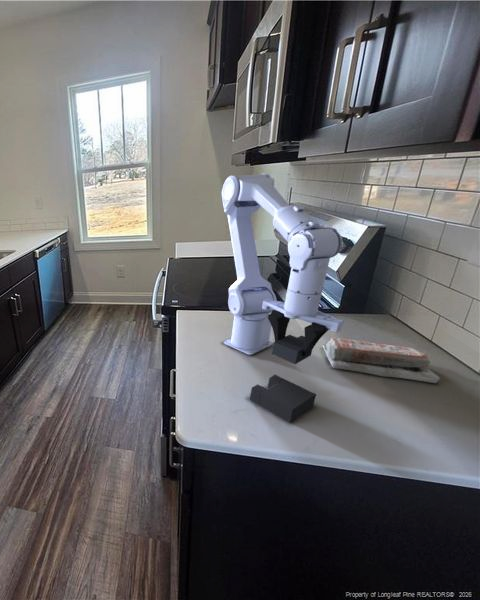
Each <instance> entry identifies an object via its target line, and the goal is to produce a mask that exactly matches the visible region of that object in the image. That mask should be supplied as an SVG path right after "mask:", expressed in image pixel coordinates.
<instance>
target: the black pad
mask: <svg viewBox="0 0 480 600" xmlns="http://www.w3.org/2000/svg"><path fill="white" fill-rule="evenodd" d="M267 383H268V384H267V388H266V387H264V386H261V385H260V384H255V385H253V386H252V387H251V388H250V397H249V401H252V402H254V404H257V405H258V406H260V407H262V408H263V409H265V410H267V411H268V412H271V413H272V414H274V415H276V416H277V417H279V418H281V419H282V420H284V421H285V422H287V423H289V424H291V423H292V422H293V421H295V420H296V419H298V417H301V416H302V415H304V414H305V413H307V411H309V410H310V409H312V408H313V407H314V404H315V401H316V397H317V394H316V393H315V392H313V391H310V390H308V389H306V388H305V387H302V386H300V385H297V384H296V383H294V382H292V381H289V380H287V379H285V378H283V377H282V376H279V375H277V374H273V375H272V376H269V379H268V382H267Z"/></svg>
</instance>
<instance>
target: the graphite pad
mask: <svg viewBox="0 0 480 600" xmlns="http://www.w3.org/2000/svg"><path fill="white" fill-rule="evenodd" d="M304 340H305V335H300V336H298V337H297V336H295V335H292V334H287V335H285V337H284V338H281V339H279V340H277V341H275V340H274V341H273V342H272V348H271V349H272V350H271V355H272V356H275V357H277V358H280V359H282V360H284V361H285V362H289V363H291V364H294V365H298V364H299V363H300V362H302V361H304V360H305V359H307V358H309V357H311V356H312V353H313V350H312V351H311V354H310V355H308V356H306V357H304V356H302V349H303V345H304Z"/></svg>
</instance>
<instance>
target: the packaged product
mask: <svg viewBox="0 0 480 600" xmlns="http://www.w3.org/2000/svg"><path fill="white" fill-rule="evenodd" d="M322 349H323V351H324V353H325V355H326V357H327V360H328V362H329V363H330V365H331V367H332V369H339V370H346V371H352V372H359V373H363V374H364V373H365V374H370V375H373V376H380V377H387V378H397V379H398V378H399V379H405V380H411V381H417V382H418V381H419V382H423V383H430V384H437V383H438V382H439V380H440V377H439V376H438V375H437V374H436V373H434V372H433V371H432V370H431V369H430V368H429V365H430V364H431V361H430V359H429V358H428V356H427V354H426V353H425V352H423V351H420V350H418V349H415V348H412V347H408V346H407V347H406V346H401V345H391V344H384V343H377V342H376V343H375V342H369V341H362V340H353V339H346V338H339V337H331V338H330V340H329V341H327V342H326V344H322Z"/></svg>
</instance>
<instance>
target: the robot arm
mask: <svg viewBox="0 0 480 600" xmlns="http://www.w3.org/2000/svg"><path fill="white" fill-rule="evenodd" d="M220 193H221V200H222V207H223V211H224V214H226V215H227V221H228V226H229V234H230V239H231V247H232V252H233V260H234V265H235V266H234V267H235V271H236V272H235V273H236V279H237V280H236V281H234V283H233V284H231V285H230V287H229V288H228V300H227V304H228V309H229V311H230V313H231V314H232V315H233V323H232V330H231V338H229V339H226V340H224V341H223V344H224V345H226V346H229V347H231V348H233V349H235V350H238V351H239V352H241V353H244V354H246V355H249V356H253V355H254V354H257V353H259V352H260V351H262V350H265V349H267V348H268V347H271V346H273V342H270V337H271V331H272V332H273V337H274V342H275V341H277V340H279V339H281V338H284V337H286V336H287V335H286V334H287V329H288V326H289V324H290V320H291V319H292V320H295V319H297V320H299V321H304V322H306V323H310V324H309V325H307V326H304V337H305V340H304V345H303V349H302V356H304V357H306V356H308V355H310V354H311V355H312V353H311V351H312V352H313V349H314V348H315V346H316V344H317V343H318V342H319V340H320V339H322V337H323V336H324V335H325V334H326V333H327V332H328V331H329V330H330V331H331V332H333V333H338V332H340V331H342V329H343V326H344V322H345V321H344V320H342V319H339V318H336V317H334V316H332V315H329V314H327V313H325V312H323V311H320V310H319V307H320V303H321V298H322V293H323V290H324V286H325V281H326V277H327V273H328V268H329V264H330V260H331V258H334V257H335V256H337V255H338V254H339V253H340V251H341V249H342V245H343V238H342V236H341V234H340V232H339V231H338V230H337V228H336V227H331V226H327V227H325V226H324V225H320V223H319V222H318V221H317V220H315V219H314V218H313V217H312V216H310V214H309V213H307V212H306V211H305V210H306V208H305V207H304V206H303V205H298V204H289V202H287V201H286V200H285V198H284V196H282V194H281V193H280V192H279V191H278V189H276V187H275V179H274V178H273V177H271V175H270V174H269V173H266V172H265V173H260V174H259V173H257V174H245V175H229V176H228V177H227V178H226V180H225V181H224V183H223V185H222V189H221V192H220ZM260 208H262V209H264V210H265V211H266V212H267V213H268V214H269V215H270V216H272V217H273V218H272V226H273V227H274V228H275V230H276V231H277V232H278V233H279V234H280V236H282V237H283V239H285V241H286V242H287V251H288V254H289V255H288V256H289V262H288V263H289V267H290V273H289V274H290V275H289V278H288V285H287V289H286V294H285V300H284V301H280V300H277V296H276V294H275V292H274V291H273V288H272V283H271V282H270V281H268V280H267V279H266V278H264V277H262V276H261V272H260V271H261V270H260V264H259V258H258V251H257V247H256V241H255V234H254V228H253V223H252V216H253V214H254V213H256V212H258V211H259V210H260Z"/></svg>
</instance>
